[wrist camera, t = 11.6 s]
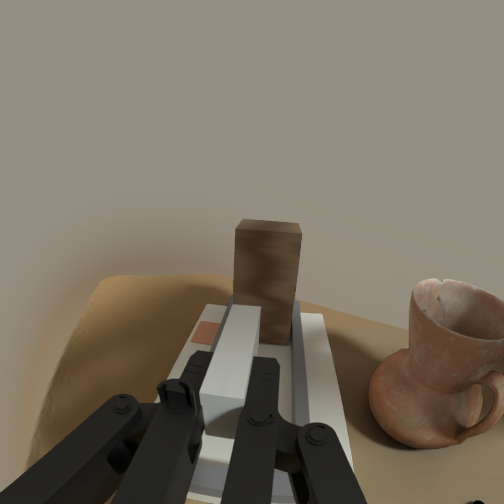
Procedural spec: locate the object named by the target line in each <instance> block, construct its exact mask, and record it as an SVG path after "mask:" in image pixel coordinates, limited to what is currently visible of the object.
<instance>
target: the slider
mask: <svg viewBox="0 0 504 504" xmlns="http://www.w3.org/2000/svg"><path fill="white" fill-rule="evenodd" d="M301 240H302V232H301V229H300V227H299V224H298V223H289V222H277V221H264V220H250V219H243V220H242V221H241V222H240V224H239V225H238V226H237V227H236V230H235V253H234V254H235V255H234V281H233V304H236V305H248V306H259V307H261V312H260V329H259V343H270V344H283V345H288V341H289V335H290V328H291V321H292V314H293V307H294V299H295V291H296V283H297V275H298V266H299V258H300V249H301Z"/></svg>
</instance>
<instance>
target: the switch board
mask: <svg viewBox="0 0 504 504" xmlns="http://www.w3.org/2000/svg"><path fill="white" fill-rule="evenodd" d="M232 305H233V295H232V296H231V298H230V301H229V303H228V306H222V305H213V304H207V305H206V307H205V309H204V310H203V312H202V314H201V316H200V318H199V320H198V321H197V323H196V325H195V327H194V329H193V331H192V333H191V334H190V336H189V338H188V340H187V342H186V344H185V346H184V347H183V349H182V351H181V353H180V355H179V357H178V359H177V361H176V362H175V364H174V366H173V368H172V370H171V372H170V374H169V376H168V378H167V379H166V380H168V379H173V378H175V379H179V378H180V376H181V374H182V372H183V371H184V368H185V366H186V365H187V362H188V360H189V358H190V356H191V355H192V354H194V353H195V352H196V351H197V350H201V351H208V352H215V349H216V347H217V344H218V341H219V339H220V336H221V334H222V331H223V328H224V326H225V323H226V320H227V318H228V315H229V312H230V310H231V307H232ZM257 357H269V358H276V359H277V361H278V363H279V364H280V381H279V399H278V411H279V413H280V415H281V416H282V418H283V419H285V420H286V421H288V422H290V423H292V424H295V425H298V426H302V427H303V426H304V425H306V424H309V423H312V422H320V423H324V424H327V425H329V426H330V427H332V428H333V429H334V431H335V432H336V434H337V436H338V438H339V441H340V443H341V445H342V447H343V450H344V452H345V454H346V457H347V459H348V461H349V463H350V466H351V468H352V470H353V463H352V456H351V450H350V444H349V438H348V432H347V427H346V421H345V416H344V411H343V406H342V400H341V395H340V391H339V386H338V381H337V376H336V372H335V367H334V363H333V358H332V354H331V349H330V345H329V341H328V337H327V332H326V328H325V324H324V320H323V316H322V314H312V313H300V306H299V301H294V307H293V314H292V321H291V328H290V335H289V341H288V345H283V344H270V343H259V345H258V353H257ZM159 402H161V401H160V397H159V395H158V397H157V399H156V400H155V402H154V403H159ZM233 444H234V439H227V438H220V437H214V436H209V435H205V430H204V432H203V435H202V448H201V451H200V455H199V458H198V461H197V465H196V468H195V471H194V474H193V478H192V481H191V484H190V487H189V491H188V494H187V497H186V498H189V499H193V500H197V501H202V502H207V503H213V504H220V502H221V498H222V494H223V489H224V485H225V480H226V476H227V471H228V467H229V462H230V458H231V453H232V449H233ZM353 472H354V470H353ZM271 504H296V503H295V500H294V496H293V492H292V488H291V485H290V481H289V477H288V473H287V472H284V471H281V470H278V469H275V468H274V479H273V489H272V499H271Z"/></svg>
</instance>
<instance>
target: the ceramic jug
mask: <svg viewBox="0 0 504 504" xmlns="http://www.w3.org/2000/svg"><path fill="white" fill-rule="evenodd" d="M503 357H504V300H502V299H500V298H499V297H497V296H496V295H494V294H492V293H489V292H488V291H486V290H484V289H481V288H479V287H476V286H473V285H471V284H468V283H465V282H461V281H457V280H451V279H443V280H442V281H441V282H440V281H438V280H437V279H434V278H433V279H427V280H423V281H421V282H419V283H417V284H416V285H415V287H414V289H413V291H412V296H411V301H410V310H409V348H408V349H400V350H399V351H398V352H396V353H394V354H392V355H390V356H389V357H387V358H386V359H385V360H384V361H382V362H381V363H380V365H379V366H378V367H377V368H376V370H375V371H374V373H373V375H372V377H371V380H370V384H369V392H368V397H369V405H370V409H371V411H372V414H373V416H374V418H375V419H376V421H377V423H378V424H379V425H380V426H381V428H382V429H383V430H384V431H385V432H386V433H387V434H388V435H390V436H391V437H392V438H394V439H395V440H397V441H399V442H401V443H403V444H405V445H407V446H410V447H414V448H419V449H439V448H444V447H448V446H451V445H457V444H461V443H462V442H464V441H465V440H466V439H467V438H469V437H472V436H476V435H479V434H481V433H484V432H486V431H487V430H489V429H490V428H491V427H493V426H494V425H495V424H496V423H497V422H498V420H499V419H500V418H501V416H502V415H503V413H504V375H503V374H501V373H500V372H497V371H493V369H494V368H495V366H496V365H497V364H498V363H499V362H500V361H501V360H502V359H503ZM480 384H483V385H486V386H488V387H489V388H490V389H491V390H492V391H493V392H494V395H495V400H494V404H493V407H492V409H491V410H490V412H489V413H488V415H487V416H486V417H485V418H484V419H483V420H482V421H480V422H479V423H477V421H478V418H479V416H480V413H481V409H482V403H483V396H482V389H481V386H480ZM476 423H477V424H476Z"/></svg>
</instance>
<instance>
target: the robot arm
mask: <svg viewBox="0 0 504 504" xmlns="http://www.w3.org/2000/svg"><path fill="white" fill-rule="evenodd" d="M260 312H261V307H259V306H248V305H236V304H233V305H232V307H231V310H230V312H229V315H228V318H227V320H226V323H225V326H224V328H223V331H222V334H221V336H220V339H219V341H218V344H217V347H216V349H215V352H208V351H201V350H197V351H196V352H195V353H194V354H192V355H191V356H190V358H189V360H188V362H187V365H186V366H185V368H184V371H183V372H182V374H181V376H180V378H179V379H175V378H173V379H168V380H165V381H163V382H161V383H160V384H159V385H158V386H157V390H158V394H159V397H160V401H161V402H159V403H138V401H137V399H135V398H134V397H133V396H131V395H128V394H119V395H115V396H113V397H112V398H110V399H109V400H108V401H106V402H105V403H104V404H103V405H102V406H101V407H100V408H99V409H97V410H96V411H95V412H94V413H93V414H92V415H91V416H89V417H88V418H87V419H86V420H85V421H84V422H83V423H82V424H80V425H79V426H78V427H77V428H76V429H75V430H74V431H72V432H71V433H70V434H69V435H68V436H67V437H65V438H64V439H63V440H62V441H61V442H60V443H59V444H57V445H56V446H55V447H54V448H53V449H52V450H50V451H49V452H48V453H47V454H46V455H45V456H43V457H42V458H41V459H40V460H39V461H38V462H36V463H35V464H34V465H33V466H32V467H31V468H29V469H28V470H27V471H26V472H25V473H23V474H22V475H21V476H20V477H19V478H18V479H16V480H15V481H14V482H13V483H12V484H10V485H9V486H8V487H7V488H6V489H4V490H3V491H2V492H1V493H0V504H104V503H105V502H106V501H107V500H108V499H109V498H110V497H111V495H112V494H113V493H114V492H115V491H116V490H117V489H118V490H117V492H116V494H115V496H114V498H113V500H112V503H111V504H184V503H185V500H186V497H187V494H188V491H189V487H190V484H191V481H192V478H193V474H194V471H195V468H196V465H197V461H198V458H199V455H200V451H201V448H202V435H203V432H204V430H205V435H209V436H214V437H220V438H227V439H234V444H233V449H232V453H231V458H230V462H229V467H228V471H227V476H226V480H225V485H224V489H223V494H222V498H221V502H220V504H271V499H272V489H273V479H274V468H275V469H278V470H281V471H284V472H287V473H288V477H289V481H290V485H291V488H292V492H293V496H294V500H295V503H296V504H367V502H366V500H365V497H364V495H363V493H362V490H361V488H360V486H359V484H358V481H357V479H356V477H355V475H354V472H353V470H352V468H351V466H350V463H349V461H348V459H347V457H346V454H345V452H344V450H343V447H342V445H341V443H340V441H339V438H338V436H337V434H336V432H335V431H334V429H333V428H332V427H330V426H329V425H327V424H324V423H320V422H312V423H309V424H306V425H304V426H303V427H302V426H298V425H295V424H292V423H290V422H288V421H286V420H285V419H283V418H282V416H281V415H280V413H279V411H278V399H279V381H280V364H279V363H278V361H277V359H276V358H269V357H257V353H258V345H259V329H260Z"/></svg>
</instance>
